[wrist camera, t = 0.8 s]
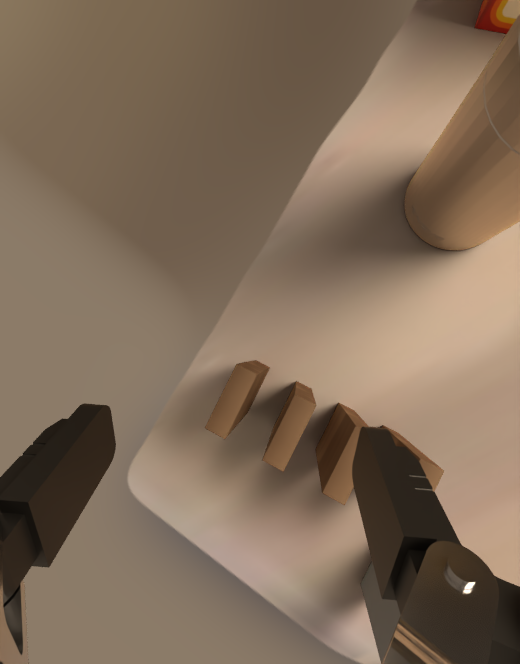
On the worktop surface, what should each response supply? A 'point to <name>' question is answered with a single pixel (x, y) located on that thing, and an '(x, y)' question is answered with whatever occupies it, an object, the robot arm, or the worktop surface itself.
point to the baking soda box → (498, 15)
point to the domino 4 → (379, 612)
